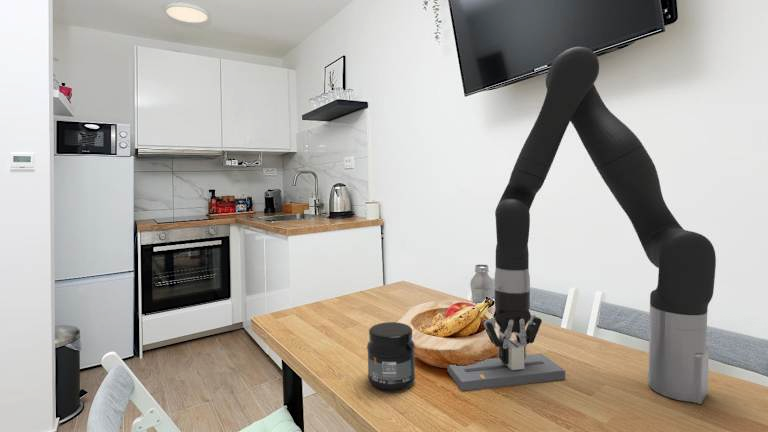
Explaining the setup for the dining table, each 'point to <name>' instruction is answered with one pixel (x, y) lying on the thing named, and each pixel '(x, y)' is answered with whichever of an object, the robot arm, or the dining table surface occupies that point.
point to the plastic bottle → (481, 285)
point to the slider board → (505, 373)
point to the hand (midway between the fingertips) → (512, 361)
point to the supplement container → (391, 357)
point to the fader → (515, 355)
